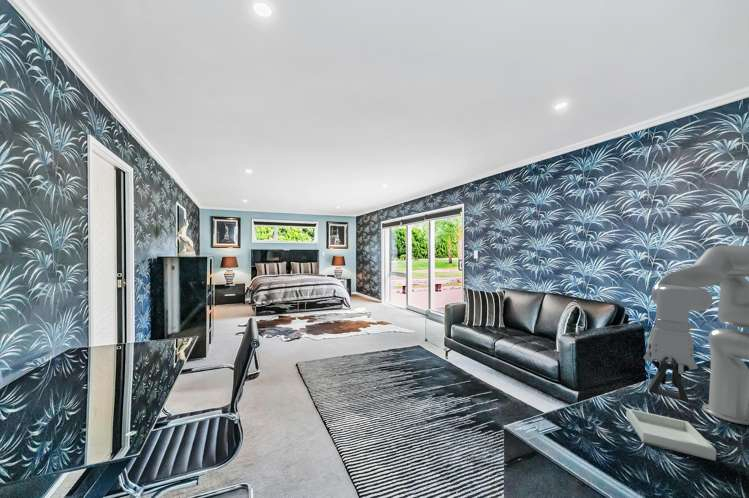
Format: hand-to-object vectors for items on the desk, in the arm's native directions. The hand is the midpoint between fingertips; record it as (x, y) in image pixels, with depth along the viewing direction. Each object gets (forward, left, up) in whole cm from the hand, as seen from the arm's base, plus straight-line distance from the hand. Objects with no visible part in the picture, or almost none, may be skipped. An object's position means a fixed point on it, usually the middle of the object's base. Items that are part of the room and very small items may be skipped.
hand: (668, 383), depth 98 cm
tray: (0, 0, -17) cm, 17 cm away
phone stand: (0, 0, -4) cm, 4 cm away
